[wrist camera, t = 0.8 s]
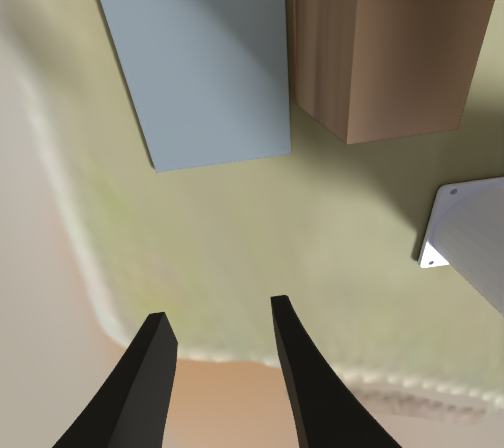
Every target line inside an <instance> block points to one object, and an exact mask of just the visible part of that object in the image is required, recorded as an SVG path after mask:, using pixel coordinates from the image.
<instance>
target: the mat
mask: <svg viewBox="0 0 504 448" xmlns="http://www.w3.org/2000/svg"><path fill="white" fill-rule="evenodd" d="M100 1H101V4H102V7H103V10H104V13H105V16H106V19H107V22H108V25H109V29H110V32H111V35H112V38H113V41H114V44H115V47H116V50H117V53H118V56H119V59H120V62H121V65H122V69H123V72H124V75H125V78H126V81H127V84H128V87H129V90H130V93H131V96H132V99H133V102H134V105H135V109H136V112H137V115H138V118H139V121H140V124H141V127H142V130H143V133H144V136H145V139H146V142H147V146H148V149H149V152H150V155H151V158H152V161H153V164H154V167H155V170H156V173H158V172H165V171H172V170H180V169H187V168H194V167H201V166H208V165H216V164H223V163H230V162H237V161H244V160H252V159H259V158H266V157H273V156H281V155H288V154H291V141H290V115H289V89H288V63H287V37H286V11H285V0H100Z"/></svg>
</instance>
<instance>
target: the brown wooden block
mask: <svg viewBox="0 0 504 448" xmlns="http://www.w3.org/2000/svg"><path fill="white" fill-rule="evenodd" d="M293 1H294V40H295V80H296V104H297V105H298V106H300V107H301V108H302V109H303V110H304V111H306V112H307V113H308V114H309V115H311V116H312V117H313V118H314V119H316V120H317V121H318V122H319V123H321V124H322V125H323V126H324V127H325V128H327V129H328V130H329V131H330V132H332V133H333V134H334V135H335V136H337V137H338V138H339V139H340V140H342V141H343V142H344V143H345V144H346V145H348V144H355V143H362V142H369V141H377V140H384V139H391V138H398V137H406V136H413V135H420V134H427V133H434V132H442V131H449V130H456V129H458V127H459V124H460V120H461V117H462V113H463V110H464V106H465V103H466V99H467V96H468V92H469V89H470V85H471V82H472V78H473V75H474V71H475V68H476V64H477V61H478V57H479V54H480V50H481V47H482V43H483V40H484V36H485V33H486V29H487V26H488V22H489V19H490V15H491V12H492V8H493V5H494V1H495V0H293Z"/></svg>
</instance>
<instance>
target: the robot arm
mask: <svg viewBox="0 0 504 448" xmlns="http://www.w3.org/2000/svg"><path fill="white" fill-rule="evenodd" d="M451 190H453V191H452V192H451ZM446 264H450V265H451V266H452V267H453V268H454V269H455V270H456V271H457V272H458V273H459V274H460V275H461V276H462V277H463V278H464V279H465V280H466V281H468V282H469V283H470V284H471V285H472V286H473V287H474V288H475V289H476V290H477V291H478V292H479V293H480V294H481V295H482V296H483V297H484V298H485V299H486V300H487V301H488V302H489V303H490V304H491V305H492V306H493V307H494V308H495V309H496V310H497V311H498V312H499V313H500V314H501V315H502V316H503V317H504V177H498V178H491V179H483V180H476V181H469V182H462V183H455V184H448V185H443V186H442V187H440V188H439V190H438V192H437V195H436V199H435V202H434V206H433V209H432V213H431V217H430V220H429V224H428V227H427V231H426V234H425V238H424V241H423V245H422V249H421V252H420V256H419V259H418V265H419V266H420V267H422V268H425V267H432V266H439V265H446ZM271 306H272V315H273V324H274V332H275V338H276V344H277V350H278V356H279V360H280V364H281V368H282V372H283V375H284V380H285V383H286V387H287V391H288V395H289V399H290V403H291V407H292V411H293V416H294V420H295V425H296V430H297V436H298V442H299V447H300V448H402V447H401V446H400V445H399V444H398V443H397V442H396V441H395V440H394V439H393V438H392V437H391V436H390V435H389V434H388V433H387V432H386V431H385V430H384V428H383V427H382V426H381V425H380V424H379V423H378V422H377V421H376V420H375V419H374V418H373V417H372V416H371V414H370V413H369V412H368V411H367V410H366V409H365V408H364V407H363V406H362V405H361V404H360V402H359V401H358V400H357V399H356V398H355V397H354V395H353V394H352V393H351V392H350V391H349V390H348V388H347V387H346V386H345V385H344V383H343V382H342V381H341V380H340V379H339V377H338V376H337V375H336V373H335V372H334V371H333V370H332V368H331V367H330V366H329V364H328V363H327V362H326V360H325V359H324V357H323V356H322V355H321V353H320V352H319V350H318V349H317V347H316V346H315V344H314V343H313V341H312V340H311V338H310V337H309V335H308V334H307V332H306V330H305V329H304V327H303V325H302V324H301V322H300V320H299V318H298V317H297V315H296V313H295V311H294V309H293V307H292V305H291V302H290V300H289V297H288V296H286V295H281V296H274V297H271ZM177 346H178V342H177V339H176V337H175V335H174V332H173V330H172V328H171V326H170V323H169V321H168V319H167V316H166V314H165V312H160V313H152V314H149V315H148V317H147V318H146V320H145V321H144V323H143V325H142V326H141V328H140V330H139V331H138V333H137V334H136V336H135V338H134V339H133V341H132V342H131V344H130V345H129V347H128V349H127V350H126V352H125V353H124V355H123V356H122V358H121V359H120V361H119V362H118V364H117V365H116V367H115V368H114V370H113V371H112V372H111V374H110V375H109V377H108V378H107V379H106V381H105V382H104V384H103V385H102V386H101V388H100V389H99V391H98V392H97V393H96V395H95V396H94V397H93V399H92V400H91V401H90V403H89V404H88V405H87V406H86V408H85V409H84V410H83V411H82V413H81V414H80V415H79V416H78V418H77V419H76V420H75V421H74V423H73V424H72V425H71V426H70V427H69V429H68V430H67V431H66V432H65V433H64V434H63V436H62V437H61V438H60V439H59V440H58V441H57V442H56V444H55V445H54V446H53V447H52V448H162V440H163V434H164V428H165V423H166V418H167V412H168V407H169V402H170V397H171V391H172V387H173V381H174V376H175V370H176V361H177Z"/></svg>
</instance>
